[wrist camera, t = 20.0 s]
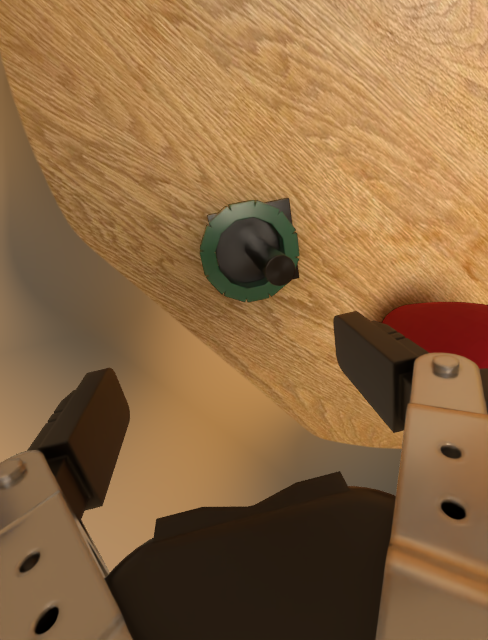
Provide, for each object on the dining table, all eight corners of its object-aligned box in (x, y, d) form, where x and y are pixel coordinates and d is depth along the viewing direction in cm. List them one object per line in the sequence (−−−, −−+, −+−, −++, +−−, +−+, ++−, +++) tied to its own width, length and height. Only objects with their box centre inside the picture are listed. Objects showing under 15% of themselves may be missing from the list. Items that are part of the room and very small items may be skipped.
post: (224, 291, 37) (235, 336, 25) (207, 214, 34) (209, 223, 22) (296, 275, 38) (341, 311, 26) (286, 197, 34) (332, 196, 22)
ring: (212, 303, 36) (212, 310, 34) (191, 211, 33) (190, 212, 30) (297, 285, 37) (303, 290, 35) (286, 192, 33) (292, 192, 31)
